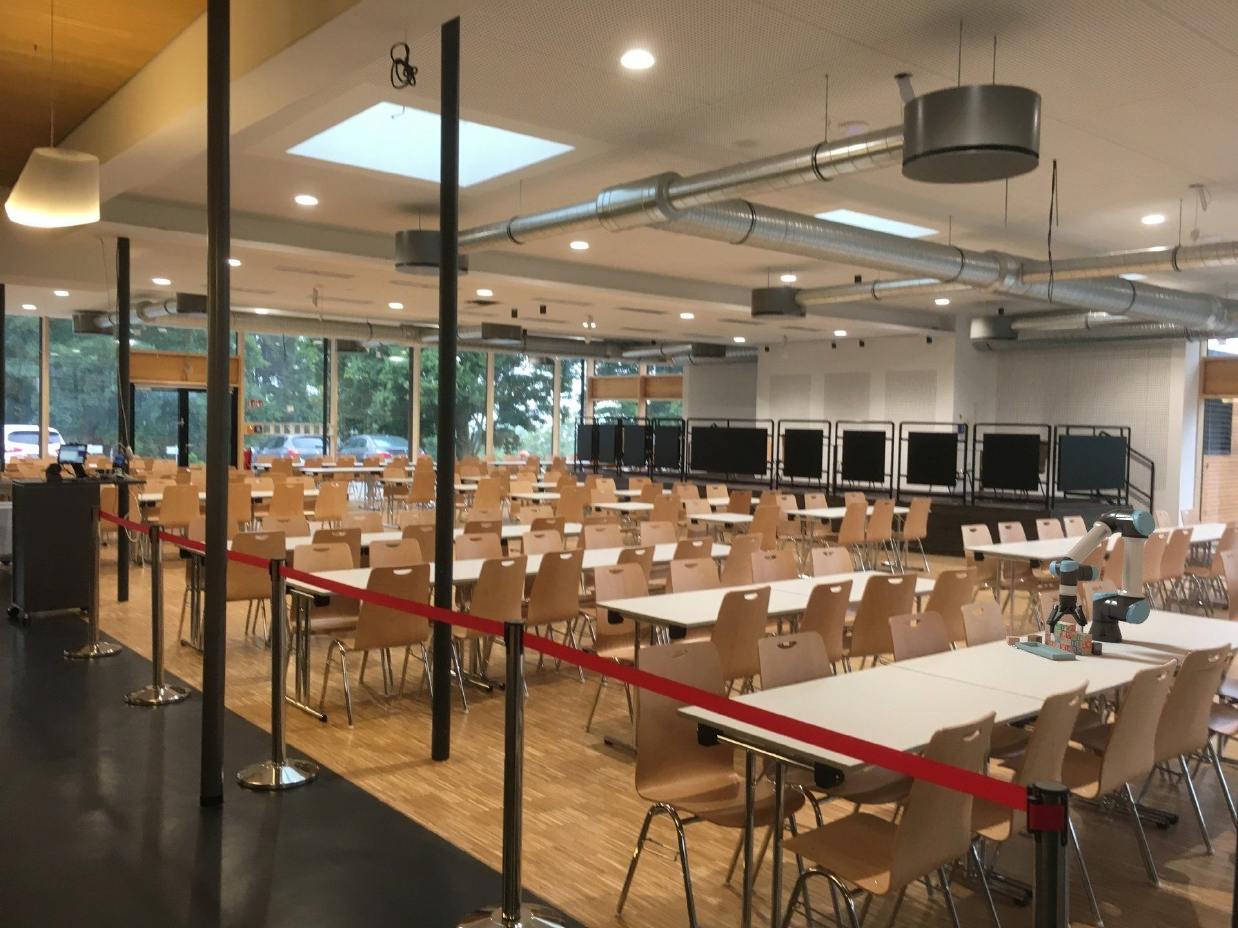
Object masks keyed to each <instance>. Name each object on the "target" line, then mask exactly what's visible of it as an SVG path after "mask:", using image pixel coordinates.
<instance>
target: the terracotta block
mask: <svg viewBox="0 0 1238 928" xmlns="http://www.w3.org/2000/svg"><path fill="white" fill-rule="evenodd" d="M1020 639H1021V638H1020V636H1016V635H1006V636H1005V643H1007V644H1008V645H1015V642H1021V641H1020ZM1007 644H1006V645H1007ZM1008 645H1007V646H1008Z"/></svg>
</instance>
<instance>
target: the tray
mask: <svg viewBox="0 0 1238 928" xmlns="http://www.w3.org/2000/svg"><path fill="white" fill-rule="evenodd" d="M1015 647H1017V648H1018V649H1017V648H1016V649H1017V650H1020V649H1021V650H1020V651H1023V650H1024V651H1023V652H1026V653H1030V654H1032V655H1036V656H1038V657H1041V658H1045V659H1047V660H1051V661H1073V660H1074V661H1075V660H1076V657H1077V656H1076V655H1077V654H1075V653H1071V652H1068V651H1065V650H1061V649H1058V648H1055V647H1052V646H1049V645H1046V644H1045V643H1043V642H1042V643H1039V642H1027V641H1020V642H1015V646H1014V648H1015Z"/></svg>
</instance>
